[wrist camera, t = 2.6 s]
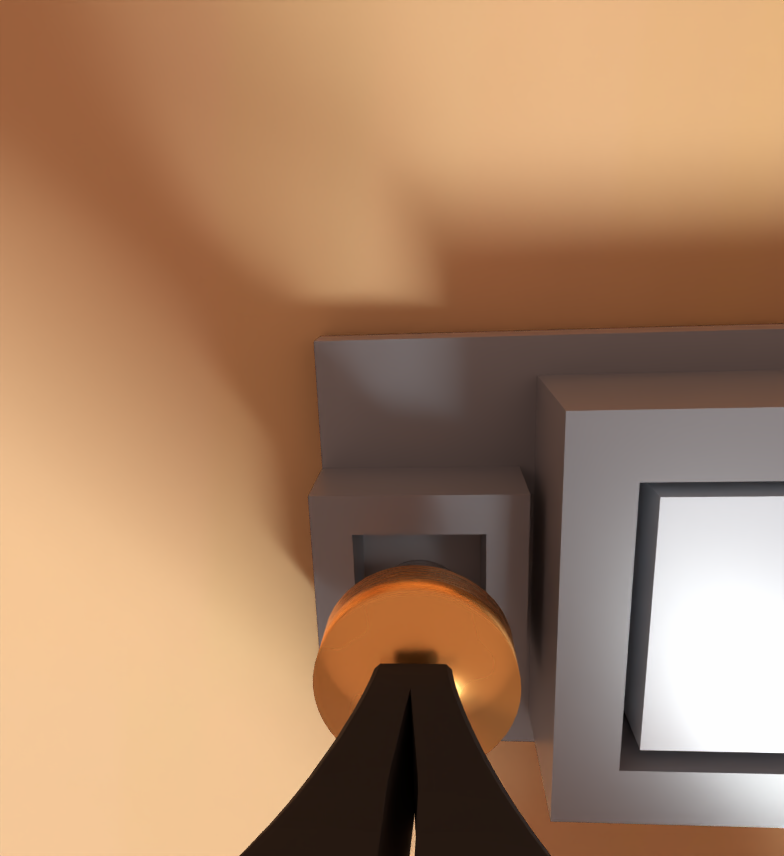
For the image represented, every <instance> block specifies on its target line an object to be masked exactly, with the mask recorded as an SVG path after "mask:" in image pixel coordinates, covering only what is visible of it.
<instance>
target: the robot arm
mask: <svg viewBox="0 0 784 856" xmlns="http://www.w3.org/2000/svg"><path fill="white" fill-rule="evenodd" d="M414 813H415V830H416V843H415V856H551V855H550V854H549V853H548V851H547V850H546V848H545V847H544V846H543V844H542V843H541V842H540V840H539V839H538V838H537V836H536V835H535V834H534V832H533V831H532V829H531V828H530V827H529V825H528V824H527V822H526V821H525V819H524V818H523V816H522V815H521V814H520V812H519V811H518V809H517V807H516V806H515V804H514V803H513V801H512V800H511V798H510V797H509V795H508V793H507V792H506V790H505V788H504V787H503V785H502V783H501V782H500V780H499V778H498V776H497V775H496V773H495V771H494V770H493V768H492V766H491V764H490V762H489V760H488V759H487V757H486V755H485V753H484V751H483V749H482V747H481V745H480V743H479V741H478V739H477V737H476V735H475V733H474V731H473V729H472V727H471V724H470V722H469V720H468V717H467V715H466V713H465V710H464V708H463V705H462V703H461V700H460V697H459V694H458V692H457V688H456V685H455V681H454V677H453V671H452V669H451V668H450V667H449V666H448V665H447V664H391V663H380V664H379V665H378V666H377V667H376V668H375V669H374V671H373V673H372V676H371V678H370V680H369V682H368V684H367V686H366V688H365V690H364V692H363V694H362V696H361V698H360V700H359V701H358V703H357V705H356V707H355V709H354V710H353V712H352V714H351V715H350V717H349V719H348V720H347V722H346V723H345V725H344V727H343V728H342V730H341V732H340V733H339V735H338V736H337V738H336V740H335V741H334V743H333V744H332V746H331V747H330V749H329V750H328V751H327V753H326V754H325V756H324V757H323V758H322V760H321V761H320V762H319V764H318V765H317V767H316V768H315V769H314V771H313V772H312V774H311V775H310V776H309V778H308V779H307V780H306V782H305V783H304V784H303V786H302V787H301V788H300V789H299V791H298V792H297V793H296V794H295V796H294V797H293V798H292V799H291V800H290V802H289V803H288V804H287V805H286V806H285V807H284V809H283V810H282V811H281V812H280V813H279V814H278V816H277V817H276V818H275V819H274V820H273V821H272V822H271V823H270V825H269V826H268V827H267V828H266V829H265V830H264V831H263V832H262V833H261V834H260V835H259V836H258V837H257V838H256V839H255V840H254V841H253V842H252V843H251V844H250V846H249V847H248V848H247V849H246V850H245V851H244V852H243V853H242V854H241V855H240V856H409V855H410V847H411V839H412V830H413V822H414Z"/></svg>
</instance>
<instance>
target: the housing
mask: <svg viewBox="0 0 784 856" xmlns="http://www.w3.org/2000/svg"><path fill="white" fill-rule="evenodd" d="M314 353H315V367H316V382H317V397H318V412H319V427H320V441H321V456H322V470H321V472H320V474H319V476H318V478H317V480H316V482H315V484H314V486H313V488H312V489H311V491H310V493H309V495H308V504H309V517H310V530H311V544H312V557H313V570H314V584H315V597H316V611H317V624H318V637H319V649H320V645H321V642H322V638H323V635H324V632H325V628H326V625H327V622H328V619H329V617H330V614H331V612H332V610H333V608H334V607H335V605H336V604H337V602H338V601H339V600H340V598H341V597H342V596H343V595H344V594H345V593H346V592H347V591H348V590H349V589H350V588H351V587H353V586H354V585H355V584H356V583H358V582H359V581H361V580H363V579H364V578H366V577H368V576H370V575H372V574H374V573H376V572H379V571H382V570H385V569H389V568H392V567H394V566H396V565H398V564H400V563H402V562H406V561H410V560H428V561H433V562H436V563H438V564H441V565H443V566H445V567H446V568H448V569H449V570H450V571H452V572H455V573H457V574H459V575H462V576H464V577H466V578H468V579H469V580H471V581H473V582H474V583H476V584H477V585H478V586H480V587H481V588H482V589H484V590H485V591H486V592H487V593H488V594H489V595H490V596H491V597H492V598H493V599H494V600H495V602H496V603H497V604H498V606H499V607H500V608H501V610H502V611H503V613H504V615H505V617H506V619H507V621H508V624H509V626H510V629H511V633H512V638H513V642H514V647H515V653H516V658H517V663H518V668H519V673H520V678H521V698H520V704H519V708H518V712H517V715H516V717H515V720H514V722H513V724H512V726H511V727H510V729H509V731H508V732H507V734H506V735H505V736H504V738H503V739H502V740H501V741H528V742H535V746H536V751H537V756H538V761H539V766H540V771H541V776H542V781H543V786H544V791H545V796H546V801H547V806H548V811H549V816H550V821H552V822H587V823H623V824H658V825H694V826H729V827H765V828H784V753H759V752H709V751H659V750H640V749H639V746H638V744H637V741H636V739H635V736H634V734H633V731H632V729H631V727H630V724H629V722H628V719H627V717H626V714H625V712H624V696H625V682H626V668H627V654H628V640H629V626H630V612H631V598H632V583H633V569H634V555H635V541H636V527H637V513H638V499H639V485H640V483H645V482H747V481H784V324H750V325H713V326H676V327H640V328H603V329H566V330H529V331H492V332H455V333H418V334H381V335H344V336H320V337H319V338H317V339H316V340H315V341H314Z"/></svg>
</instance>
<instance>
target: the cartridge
mask: <svg viewBox="0 0 784 856" xmlns="http://www.w3.org/2000/svg"><path fill="white" fill-rule="evenodd" d="M624 712H625V714H626V717H627V719H628V722H629V724H630V727H631V729H632V731H633V734H634V736H635V739H636V741H637V744H638V746H639V749H640V750H659V751H709V752H759V753H784V481H747V482H645V483H640V485H639V499H638V513H637V527H636V541H635V555H634V569H633V583H632V598H631V612H630V626H629V640H628V654H627V668H626V682H625V696H624Z"/></svg>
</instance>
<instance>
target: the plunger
mask: <svg viewBox="0 0 784 856" xmlns="http://www.w3.org/2000/svg"><path fill="white" fill-rule="evenodd" d="M380 663H391V664H447V665H448V666H449V667H450V668H451V669H452V671H453V677H454V681H455V685H456V688H457V692H458V694H459V697H460V700H461V703H462V705H463V708H464V710H465V713H466V715H467V717H468V720H469V722H470V724H471V727H472V729H473V731H474V733H475V735H476V737H477V739H478V741H479V743H480V745H481V747H482V749H483V751H484V753H485V754H487V753H488V752H490V751H491V750H492V749H493V748H494V747H495V746H496V745H497V744H498V743H499V742H500V741H501V740H502V739H503V738H504V736H505V735H506V734H507V732H508V731H509V729H510V727H511V726H512V724H513V722H514V720H515V717H516V715H517V712H518V708H519V704H520V698H521V678H520V673H519V668H518V663H517V658H516V653H515V647H514V642H513V638H512V633H511V629H510V626H509V624H508V621H507V619H506V617H505V615H504V613H503V611H502V610H501V608H500V607H499V606H498V604H497V603H496V602H495V600H494V599H493V598H492V597H491V596H490V595H489V594H488V593H487V592H486V591H485V590H484V589H482V588H481V587H480V586H478V585H477V584H476V583H474V582H473V581H471V580H469V579H468V578H466V577H464V576H462V575H459V574H457V573H455V572H452V571H450V570H449V569H448V568H446V567H445V566H443V565H441V564H438V563H436V562H433V561H428V560H410V561H406V562H402V563H400V564H398V565H396V566H394V567H392V568H389V569H385V570H382V571H379V572H376V573H374V574H372V575H370V576H368V577H366V578H364V579H363V580H361V581H359V582H358V583H356V584H355V585H354V586H353V587H351V588H350V589H349V590H348V591H347V592H346V593H345V594H344V595H343V596H342V597H341V598H340V600H339V601H338V602H337V604H336V605H335V607H334V608H333V610H332V612H331V614H330V617H329V619H328V622H327V625H326V628H325V632H324V635H323V638H322V642H321V645H320V649H319V652H318V656H317V659H316V662H315V667H314V674H313V689H314V696H315V701H316V704H317V707H318V710H319V712H320V715H321V717H322V719H323V721H324V722H325V724H326V725H327V727H328V729H329V730H330V731H331V733H332V734H333V735H334V736H335V737H336V738H337V736H338V735H339V733H340V732H341V730H342V728H343V727H344V725H345V723H346V722H347V720H348V719H349V717H350V715H351V714H352V712H353V710H354V709H355V707H356V705H357V703H358V701H359V700H360V698H361V696H362V694H363V692H364V690H365V688H366V686H367V684H368V682H369V680H370V678H371V676H372V673H373V671H374V669H375V668H376V667H377V666H378V665H379V664H380Z"/></svg>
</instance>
